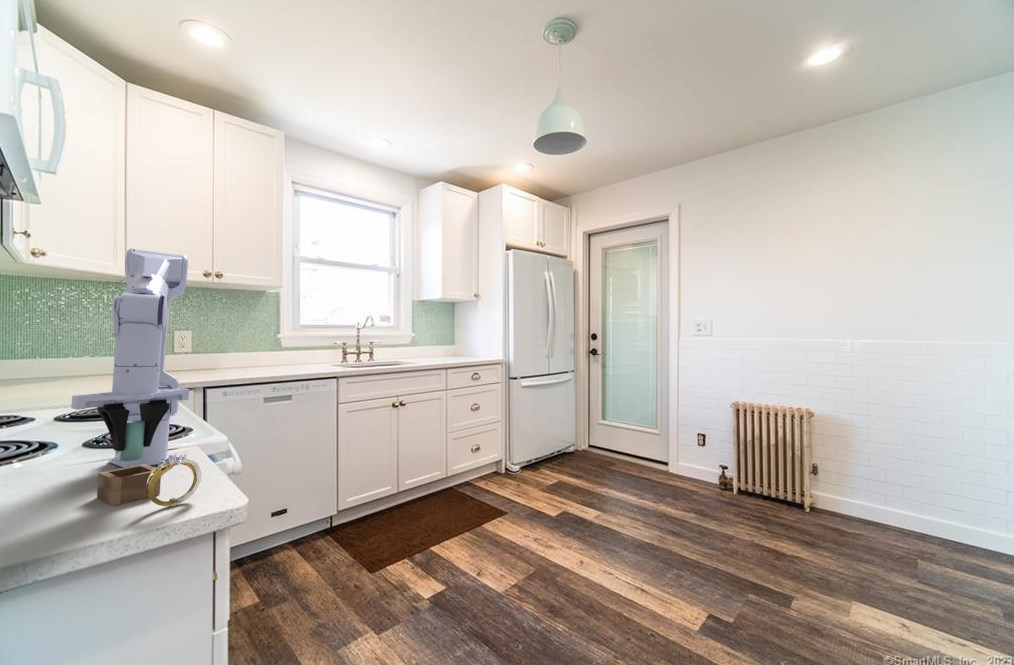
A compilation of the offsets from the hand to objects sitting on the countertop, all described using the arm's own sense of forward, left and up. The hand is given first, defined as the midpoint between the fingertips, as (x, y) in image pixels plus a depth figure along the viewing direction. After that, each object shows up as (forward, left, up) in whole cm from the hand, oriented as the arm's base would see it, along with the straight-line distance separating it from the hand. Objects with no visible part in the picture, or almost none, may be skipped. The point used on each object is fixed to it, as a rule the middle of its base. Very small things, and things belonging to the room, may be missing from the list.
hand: (132, 447), depth 68 cm
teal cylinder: (0, 0, -2) cm, 2 cm away
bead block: (0, 0, -8) cm, 8 cm away
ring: (+10, +2, -8) cm, 13 cm away
